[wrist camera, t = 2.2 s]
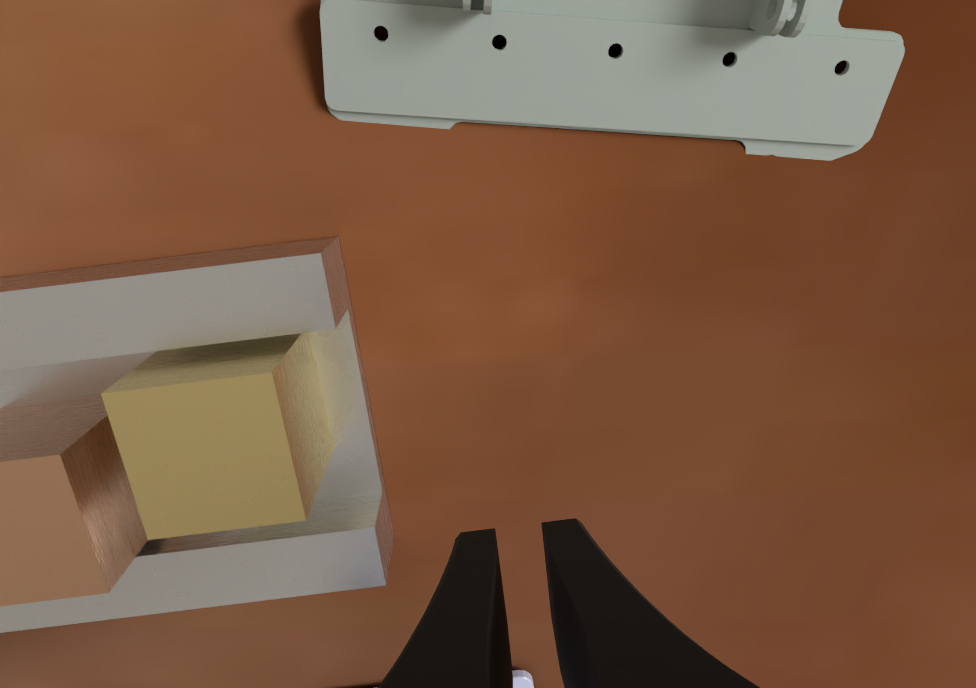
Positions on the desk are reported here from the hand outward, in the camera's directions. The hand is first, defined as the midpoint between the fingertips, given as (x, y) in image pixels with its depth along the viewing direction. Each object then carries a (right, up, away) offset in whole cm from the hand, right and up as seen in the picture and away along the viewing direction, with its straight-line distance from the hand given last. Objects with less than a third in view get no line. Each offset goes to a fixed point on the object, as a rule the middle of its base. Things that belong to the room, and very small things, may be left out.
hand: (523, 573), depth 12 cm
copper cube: (-13, +1, +9) cm, 15 cm away
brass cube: (-8, +3, +8) cm, 11 cm away
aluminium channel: (-10, +2, +9) cm, 14 cm away
